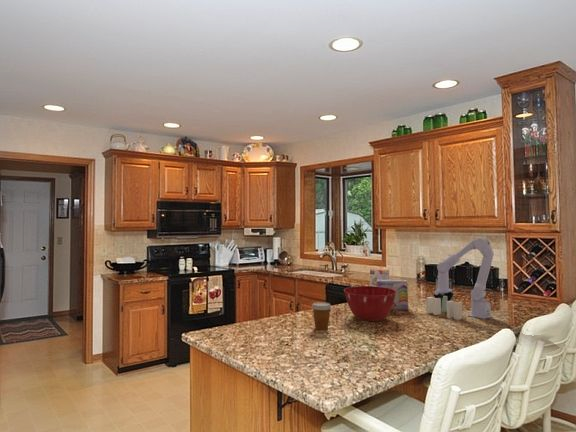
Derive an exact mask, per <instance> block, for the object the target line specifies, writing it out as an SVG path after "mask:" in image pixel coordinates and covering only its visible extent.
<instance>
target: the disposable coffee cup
mask: <svg viewBox="0 0 576 432" xmlns="http://www.w3.org/2000/svg"><path fill="white" fill-rule="evenodd" d="M331 308H332V305H331V303H329V302H324V301H323V302H321V301H317V302H314V303H312V305H311V309H312V311H313V321H314V328H315V329H316V330H320V331H324V330H328V328H329V322H330V313H331Z"/></svg>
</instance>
